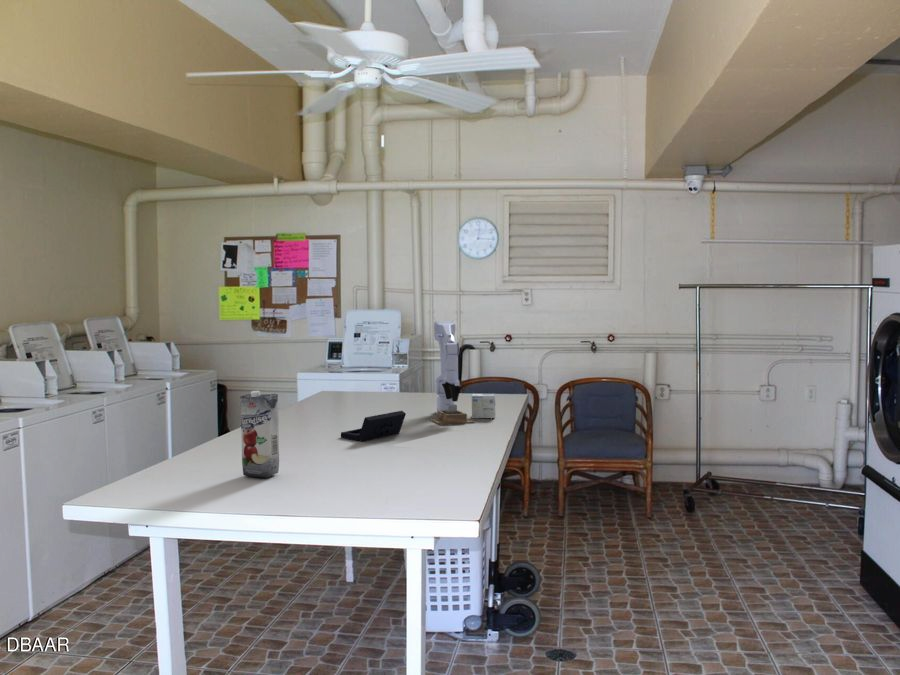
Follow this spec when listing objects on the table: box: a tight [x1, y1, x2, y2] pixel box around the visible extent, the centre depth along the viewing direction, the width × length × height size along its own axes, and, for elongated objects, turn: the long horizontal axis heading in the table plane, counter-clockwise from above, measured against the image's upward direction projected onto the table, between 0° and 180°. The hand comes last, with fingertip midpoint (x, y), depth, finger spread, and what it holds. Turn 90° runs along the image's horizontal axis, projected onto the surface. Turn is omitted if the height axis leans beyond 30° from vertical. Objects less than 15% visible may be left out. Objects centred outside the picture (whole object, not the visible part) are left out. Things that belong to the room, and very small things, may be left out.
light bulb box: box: [471, 393, 496, 420], centre depth 337 cm, size 11×7×11 cm, turn 84°
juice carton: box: [239, 390, 280, 479], centre depth 233 cm, size 9×10×27 cm
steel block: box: [445, 403, 458, 415], centre depth 328 cm, size 4×4×7 cm
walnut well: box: [429, 409, 475, 426], centre depth 328 cm, size 14×16×4 cm
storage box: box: [340, 410, 407, 443], centre depth 295 cm, size 21×16×10 cm
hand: (451, 400), depth 328 cm, fingers open, 7 cm apart
